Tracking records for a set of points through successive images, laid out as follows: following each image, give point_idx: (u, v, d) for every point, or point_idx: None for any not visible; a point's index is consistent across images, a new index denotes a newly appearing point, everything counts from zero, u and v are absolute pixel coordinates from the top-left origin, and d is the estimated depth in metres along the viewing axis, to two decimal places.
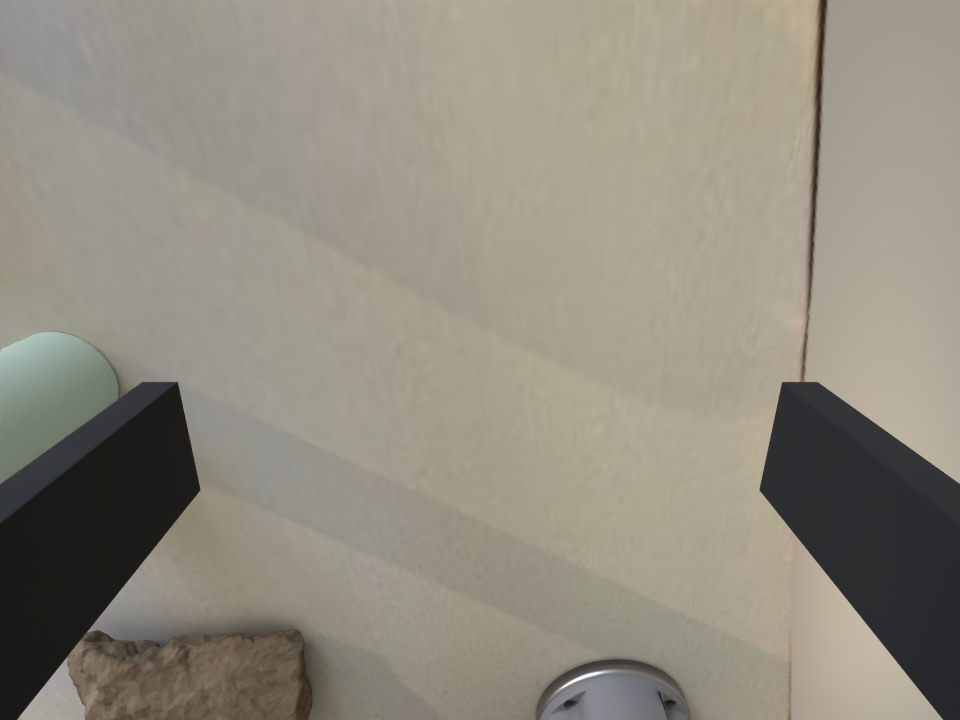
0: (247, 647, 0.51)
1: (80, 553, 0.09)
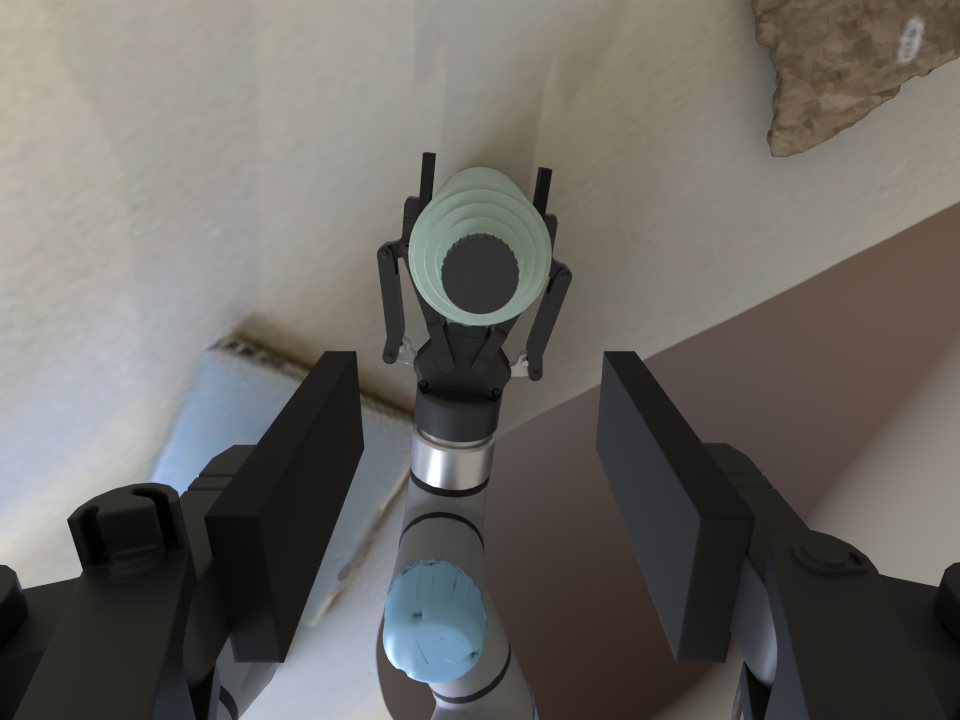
0: None
1: (322, 487, 0.11)
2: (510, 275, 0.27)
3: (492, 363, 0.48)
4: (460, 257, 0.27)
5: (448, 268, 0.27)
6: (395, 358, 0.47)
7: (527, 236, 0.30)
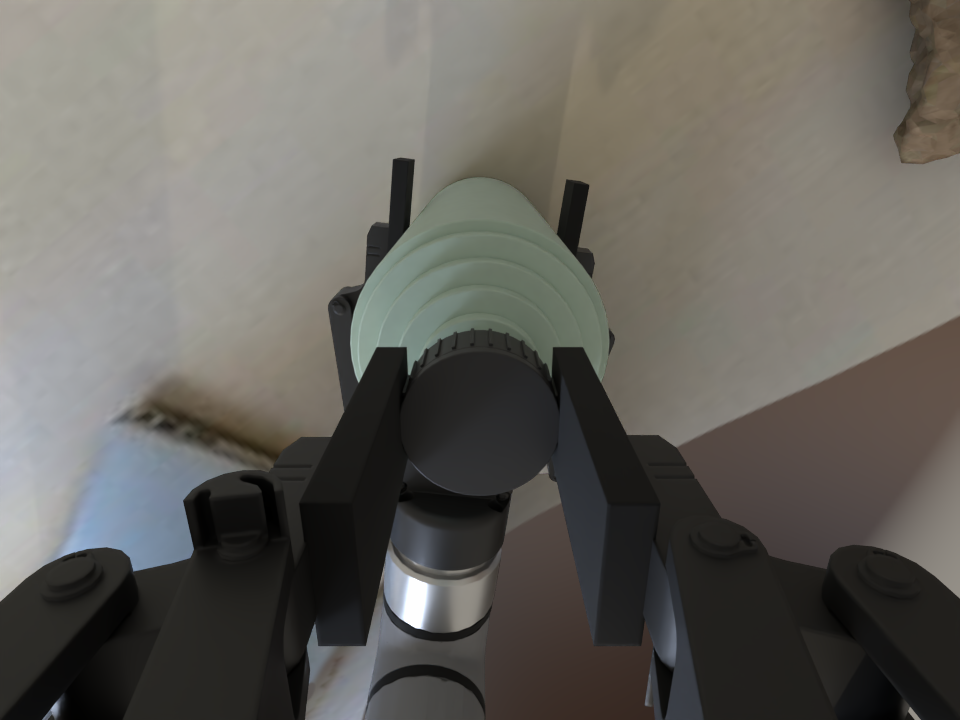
0: None
1: (387, 477, 0.11)
2: (543, 424, 0.13)
3: None
4: (438, 389, 0.13)
5: (413, 410, 0.13)
6: None
7: (569, 320, 0.16)
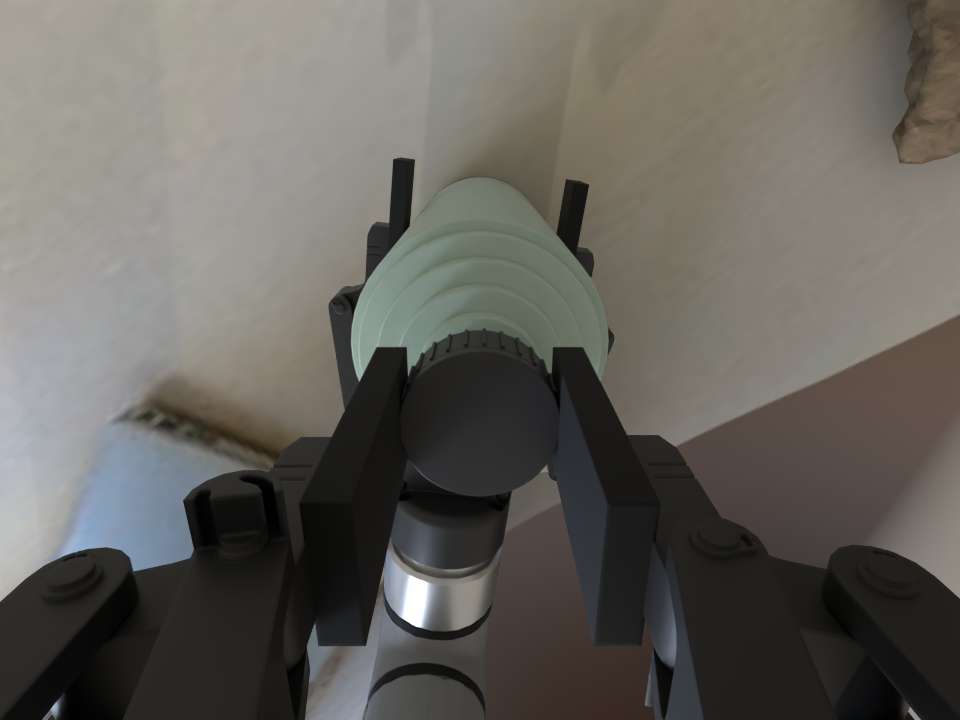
0: None
1: (387, 478, 0.11)
2: (442, 379, 0.13)
3: None
4: (464, 476, 0.13)
5: (495, 484, 0.14)
6: None
7: (568, 319, 0.16)
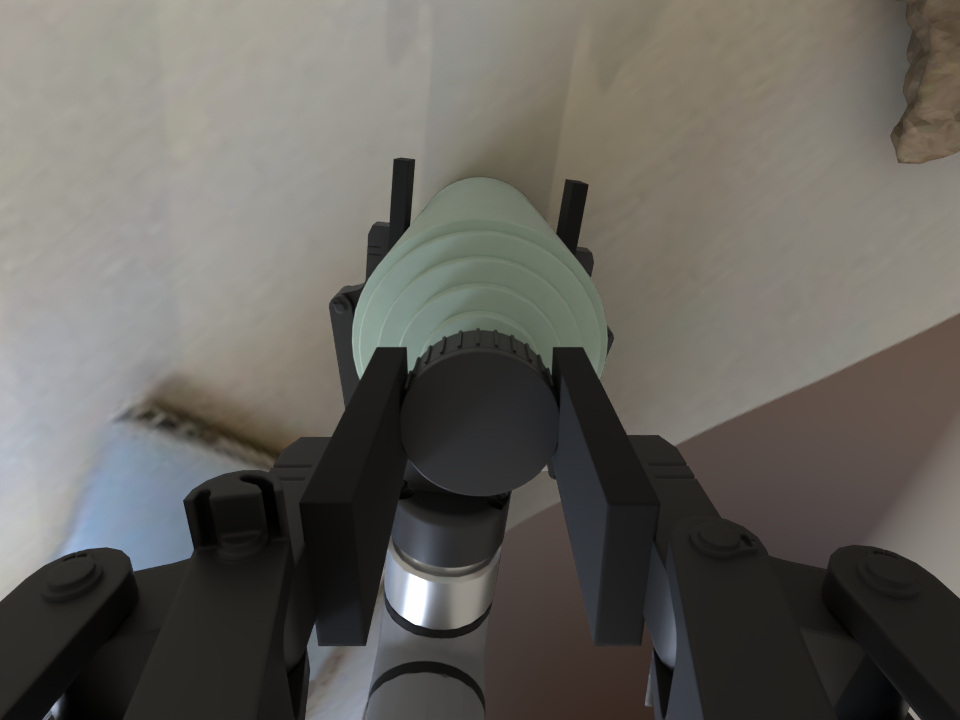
0: None
1: (387, 477, 0.11)
2: (453, 477, 0.13)
3: None
4: (536, 414, 0.13)
5: (530, 383, 0.13)
6: None
7: (567, 318, 0.16)
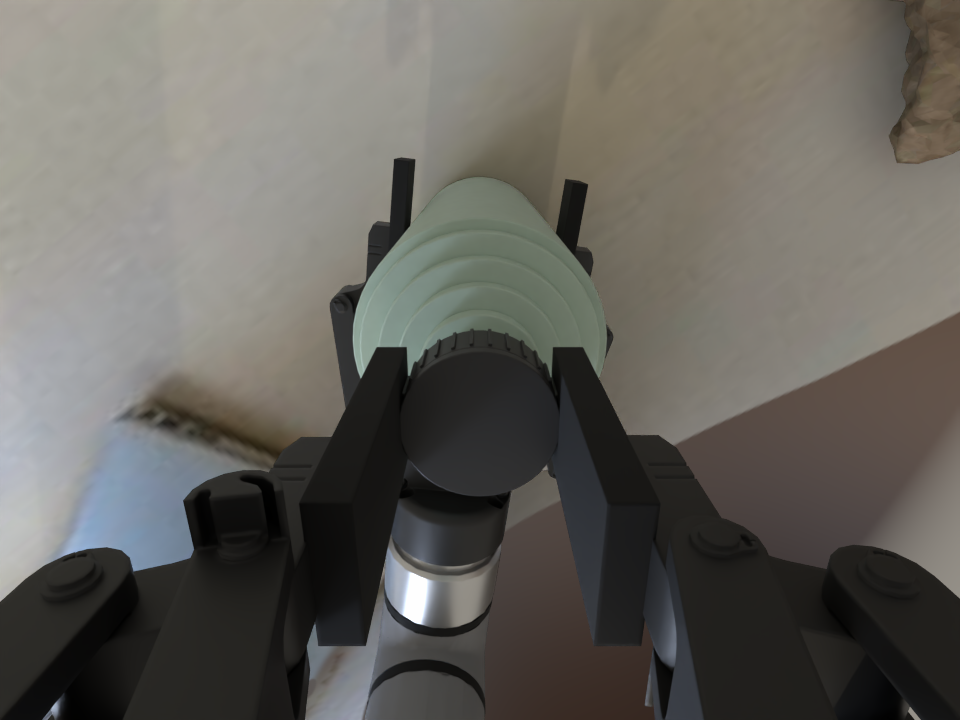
0: None
1: (387, 477, 0.11)
2: (543, 424, 0.13)
3: None
4: (437, 390, 0.13)
5: (412, 411, 0.13)
6: None
7: (567, 317, 0.17)
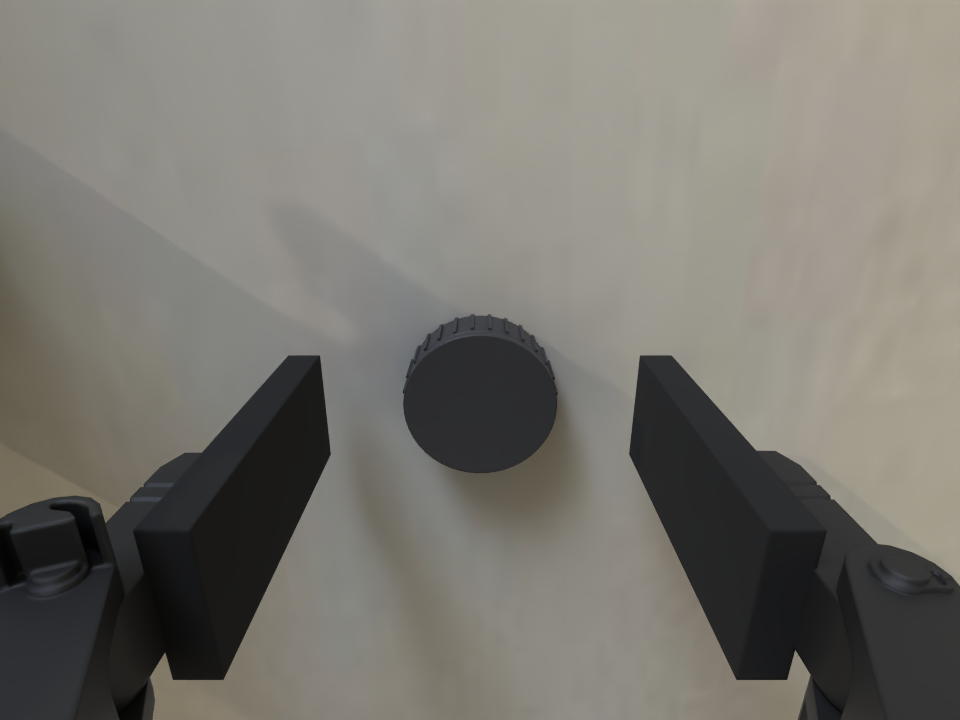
0: None
1: (275, 495, 0.11)
2: (540, 403, 0.14)
3: None
4: (440, 371, 0.13)
5: (417, 391, 0.14)
6: None
7: None
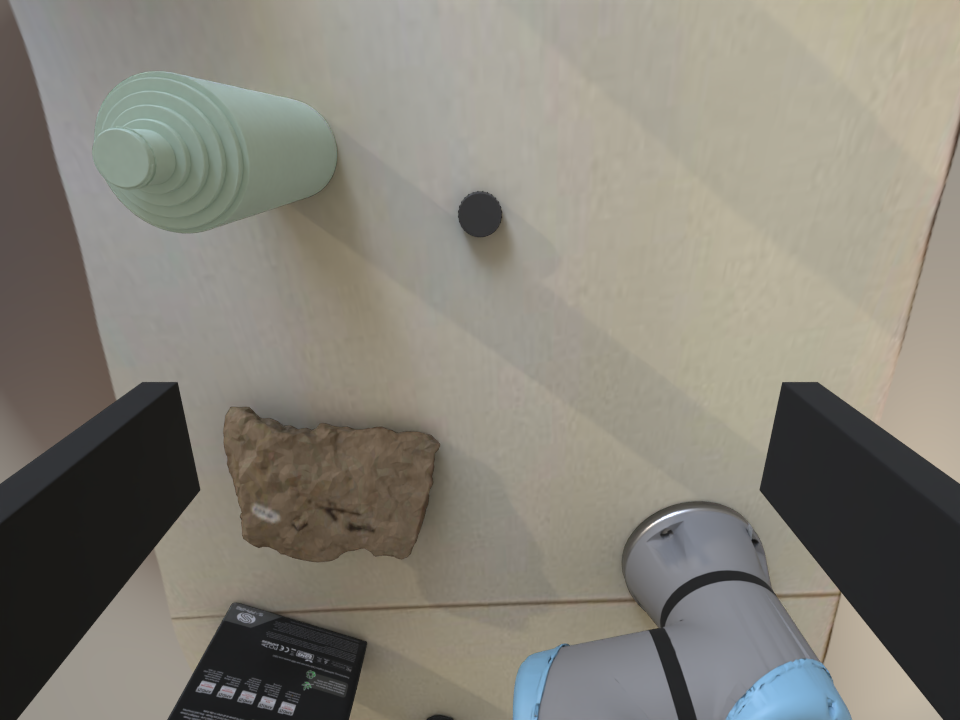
0: (391, 438, 0.56)
1: (80, 553, 0.09)
2: (496, 214, 0.49)
3: None
4: (469, 203, 0.49)
5: (462, 210, 0.49)
6: None
7: (170, 214, 0.30)
